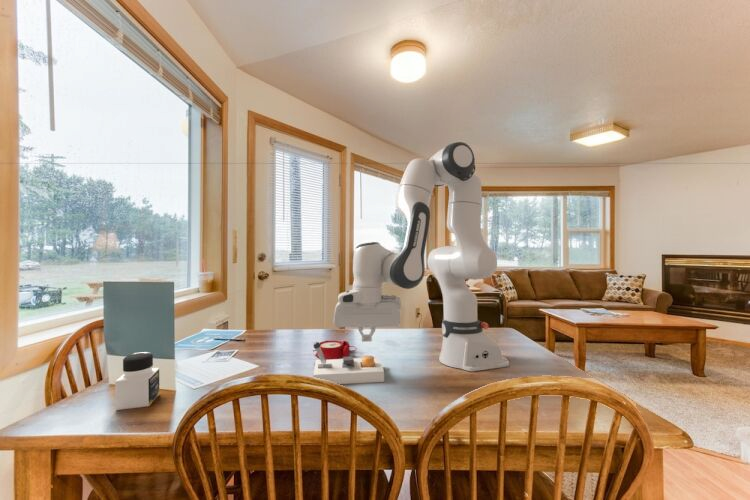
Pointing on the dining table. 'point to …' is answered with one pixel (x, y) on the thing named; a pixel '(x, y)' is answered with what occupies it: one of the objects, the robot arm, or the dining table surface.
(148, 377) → the medicine bottle
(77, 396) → the dining table surface
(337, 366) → the panel
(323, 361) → the lever
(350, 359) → the rocker
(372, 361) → the button
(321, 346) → the alarm clock
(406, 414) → the dining table surface
